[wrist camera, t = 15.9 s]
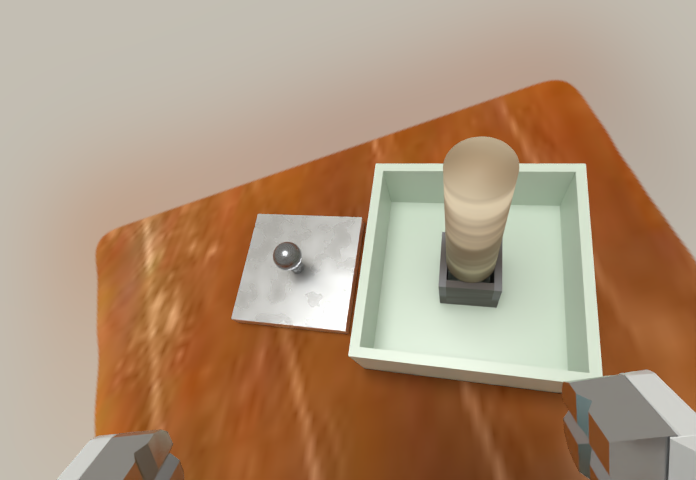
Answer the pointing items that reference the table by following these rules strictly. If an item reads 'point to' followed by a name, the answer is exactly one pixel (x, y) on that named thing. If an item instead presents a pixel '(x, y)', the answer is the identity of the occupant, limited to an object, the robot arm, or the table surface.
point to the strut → (475, 219)
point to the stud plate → (301, 272)
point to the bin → (517, 282)
